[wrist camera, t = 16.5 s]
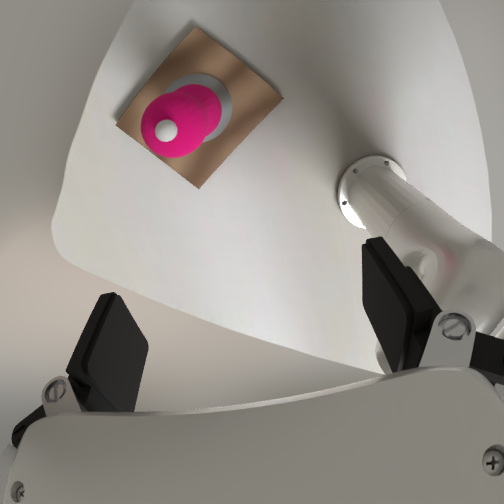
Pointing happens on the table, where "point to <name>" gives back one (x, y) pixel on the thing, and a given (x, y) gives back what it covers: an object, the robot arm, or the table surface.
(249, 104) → the walnut board
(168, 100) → the pepper mill
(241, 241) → the table surface
